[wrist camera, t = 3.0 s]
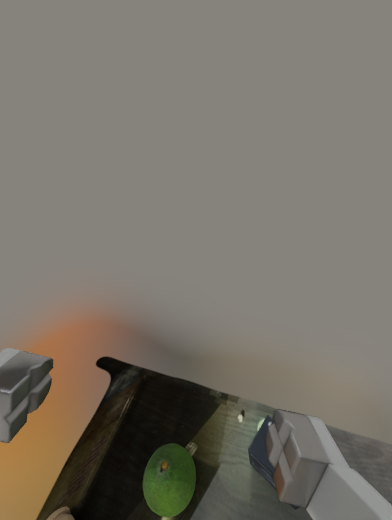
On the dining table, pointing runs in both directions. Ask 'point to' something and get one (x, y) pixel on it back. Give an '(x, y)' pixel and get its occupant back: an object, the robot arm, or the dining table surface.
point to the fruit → (169, 480)
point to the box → (262, 454)
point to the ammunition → (61, 514)
